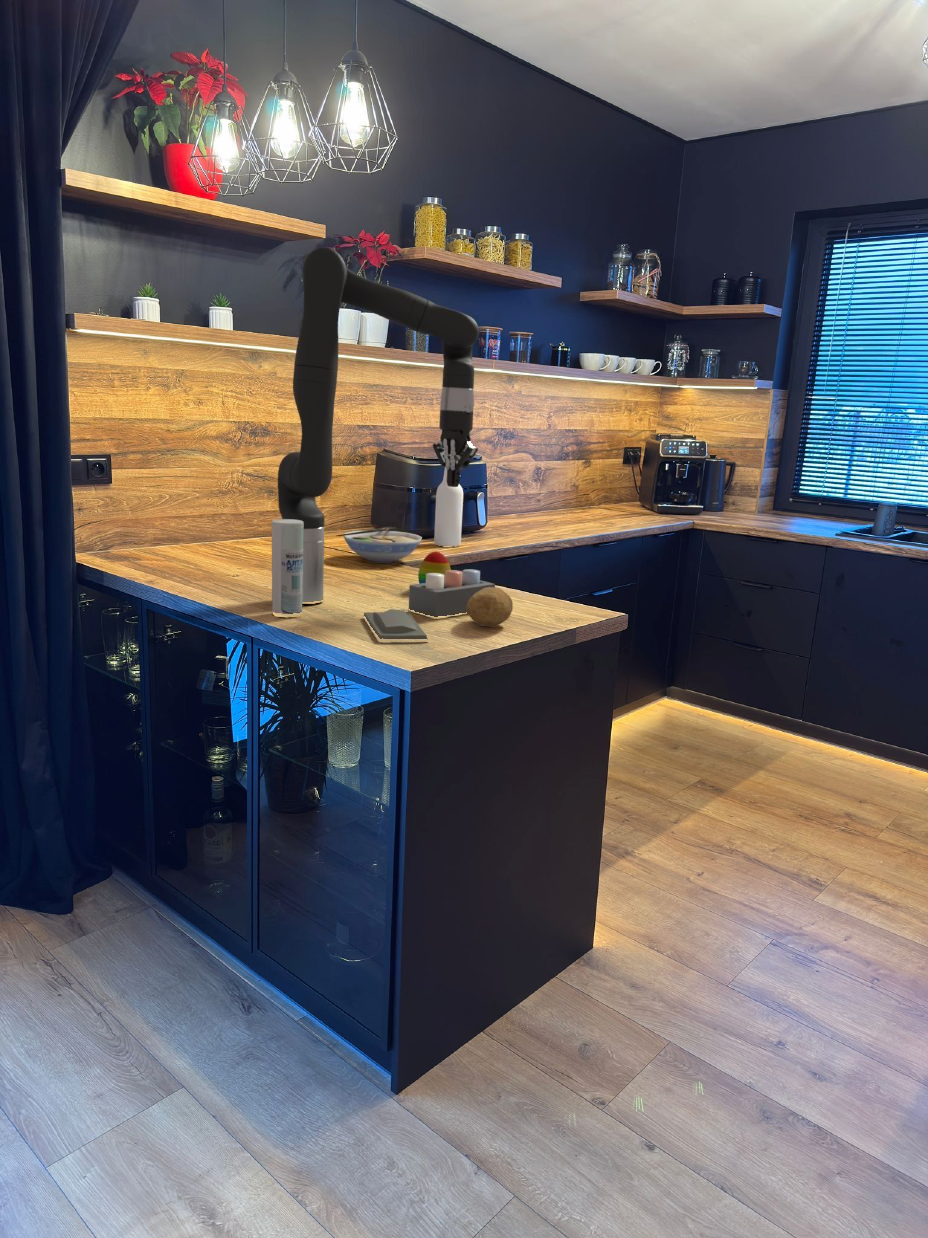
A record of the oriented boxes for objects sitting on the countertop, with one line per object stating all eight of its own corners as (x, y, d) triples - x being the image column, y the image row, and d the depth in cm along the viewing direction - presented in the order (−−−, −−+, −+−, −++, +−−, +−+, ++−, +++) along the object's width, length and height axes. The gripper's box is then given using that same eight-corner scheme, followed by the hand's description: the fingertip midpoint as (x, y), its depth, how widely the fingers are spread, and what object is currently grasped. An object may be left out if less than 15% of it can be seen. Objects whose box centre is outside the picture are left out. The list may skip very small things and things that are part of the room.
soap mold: (410, 620, 190) (410, 605, 189) (428, 645, 171) (429, 628, 171) (362, 620, 188) (363, 604, 187) (376, 646, 169) (377, 628, 168)
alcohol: (430, 546, 287) (434, 452, 280) (438, 542, 296) (443, 451, 289) (456, 548, 285) (460, 454, 278) (463, 545, 293) (468, 453, 286)
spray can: (289, 610, 191) (289, 518, 186) (309, 615, 187) (310, 521, 182) (265, 614, 186) (265, 520, 181) (284, 620, 182) (285, 524, 178)
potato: (513, 619, 194) (515, 583, 192) (509, 635, 180) (511, 597, 178) (469, 616, 195) (471, 580, 193) (462, 631, 181) (464, 593, 179)
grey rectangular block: (435, 619, 190) (437, 592, 188) (408, 611, 196) (409, 584, 194) (493, 609, 202) (495, 584, 201) (466, 602, 208) (467, 577, 207)
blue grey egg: (469, 599, 199) (471, 573, 198) (457, 595, 202) (459, 570, 201) (482, 597, 202) (483, 571, 201) (470, 594, 205) (471, 568, 203)
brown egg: (452, 600, 196) (453, 574, 194) (439, 597, 198) (441, 571, 197) (464, 598, 198) (466, 572, 197) (452, 595, 201) (454, 569, 200)
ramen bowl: (382, 572, 239) (382, 542, 237) (323, 559, 253) (323, 531, 251) (439, 562, 259) (440, 534, 257) (381, 551, 272) (382, 525, 270)
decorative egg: (421, 595, 213) (423, 554, 211) (414, 588, 221) (416, 548, 219) (454, 595, 215) (456, 554, 213) (445, 588, 223) (447, 549, 221)
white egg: (433, 604, 192) (434, 577, 190) (421, 600, 194) (422, 574, 193) (446, 602, 194) (448, 575, 193) (434, 598, 197) (435, 572, 196)
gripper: (424, 407, 199) (421, 484, 204) (465, 409, 190) (461, 490, 194) (448, 408, 205) (445, 483, 209) (489, 410, 196) (484, 489, 200)
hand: (452, 486), depth 202 cm, fingers closed
